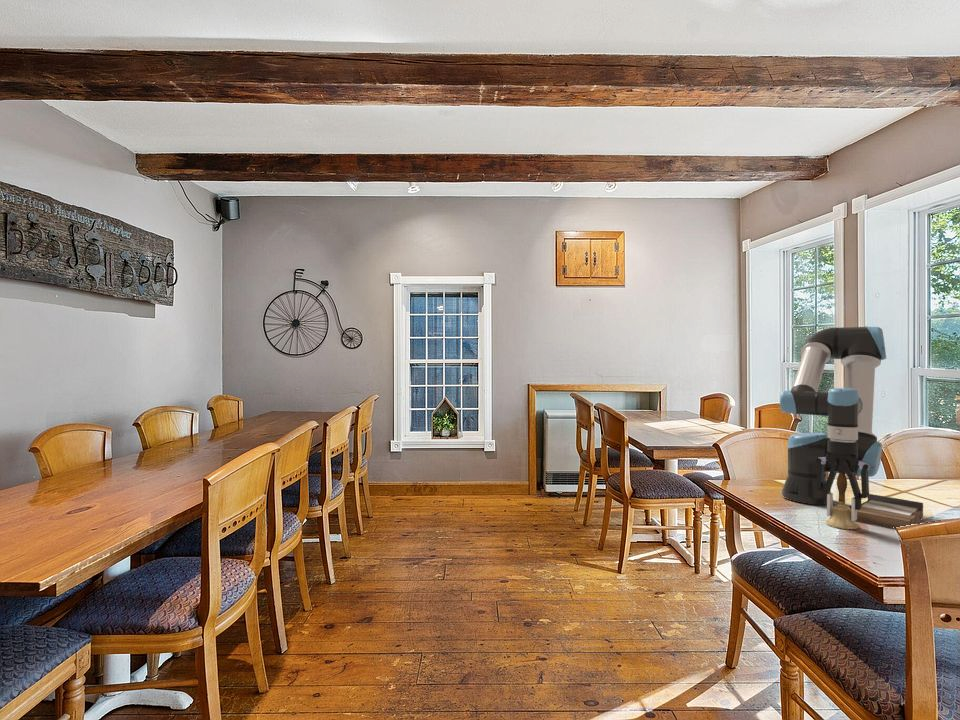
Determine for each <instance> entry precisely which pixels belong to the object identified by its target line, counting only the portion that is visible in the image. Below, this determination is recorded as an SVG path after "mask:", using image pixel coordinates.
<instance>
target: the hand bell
mask: <svg viewBox="0 0 960 720" xmlns="http://www.w3.org/2000/svg"><path fill="white" fill-rule="evenodd" d="M847 478H848V477H847V476H846V474H845V472H839V473H838V475H837V478H836V488H837V491H838V502H837V504H836V505H833V511H832V514H831V516H829V518H828V519H827V520H825V522H826V523H827V524H829V525H831V526H830V527H832V526H834V527H833V528H835V527H838V528H837V529H840V528H842V529H841V530H849V529H851V530H852V529H854V530H859V528H860V526H859V525H858V524H857V522H856V521H851V508H850V506H847V505H846V491H847V488H848V479H847ZM826 523H825V524H826ZM827 524H826V525H827ZM829 525H828V526H829Z"/></svg>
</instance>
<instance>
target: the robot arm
mask: <svg viewBox="0 0 960 720" xmlns="http://www.w3.org/2000/svg"><path fill="white" fill-rule="evenodd" d="M800 357H801V360H800V362H799V365H798V368H797V371H796V374H795V377H794V380H793V382H792V385H791V388H790V389H789V390H782V391H781V392H780V394H779V407H780V411H781V412H782V413H785V414H793V415H804V416H805V415H807V416H808V415H810V416H821V417H822V416H824V417H825V416H826V417H827V432H801V433H793V434H792V435H791V434H790V435H789V437H788V441H787V442H788V443H787V475H786V479H785V481H784V484H783V487H782V489H781V496H782V495H783V496H784V497H786V498H788V499H791V500H795V501H798V502H797V503H799V502H802V503H801V504H805V503H808V504H807V505H816V504H819V505H821V506H822V505H826V516H827V517H831V514H832V511H833V506H834V505H833V503H834V501H833V499H834V493H833V492H832V491H831V490H832V487H833V484H834V482H835V478H836V476H837V474H839V472H845V475H847V476H846V477H847V478H848V481H849V484H850V488H851V490H852V494H853V497H852V498H851V502H850V503H851V508H850V509H851V521H855V522H857V521H856V520H857V510H860V509H861V504H862V499H866V498H867V499H868V496H869V494H870V480H869V478H870V477H871V478H872V477H875V476H876V475H877V473H878V471H879V469H880V466H881V459H882V456H883V455H882V453H883V443H882V442H881V441H878V437H877V436H876V434H874V433H873V413H874V398H875V397H874V396H875V375H876V374H875V373H876V368H878V367H879V366H881V364H882V361H883V360H886V359H887V353H886V345H885V337H884V332H883V328H881V327H879V326H867V325H865V326H851V327H850V326H849V327H848V326H847V327H845V326H843V327H842V326H841V327H835V326H834V327H828V328H824V329H820V330H819V331H816V332H815V333H814V334H812V335H811V336H810V337H808V338H807V339H806V340H805V342H804V343H803V345H802V347H801V349H800ZM829 360H840V363H841V365H843V366H844V380H843V381H844V385H843V387H833V388H832V387H831V388H830V389H829V390H828V391H827V392H824V391H819V388H820V383H821V381H822V379H823V377H822V376H823V373H824V370H825V367H826V363H827V364H828V362H829ZM827 473H828V475H827ZM857 477H860V482H861V483H860V485H861V489H860V486H859V483H858V480H857ZM788 499H787V500H788ZM791 500H790V501H791Z"/></svg>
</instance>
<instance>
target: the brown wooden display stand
mask: <svg viewBox="0 0 960 720" xmlns="http://www.w3.org/2000/svg"><path fill="white" fill-rule="evenodd" d="M922 518H923V519H924V502H922V501H921V502H920V501H913V500H909V499H902V498H896V497H891V496H885V495H879V494H872V493H869V496H868V497H867V500H865V502H863V503H861V509H860V510H857V520H856V521H855V522H860V523H864V524H870V525H876V526H878V527H879V526H880V527H884V528H890V529H893V527H894V528H896V527H900V526H906V525H911V524H916V523H918V524H919V523H920V522H921V521H922V520H923V519H922ZM921 519H922V520H921ZM919 521H920V522H919Z"/></svg>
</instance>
